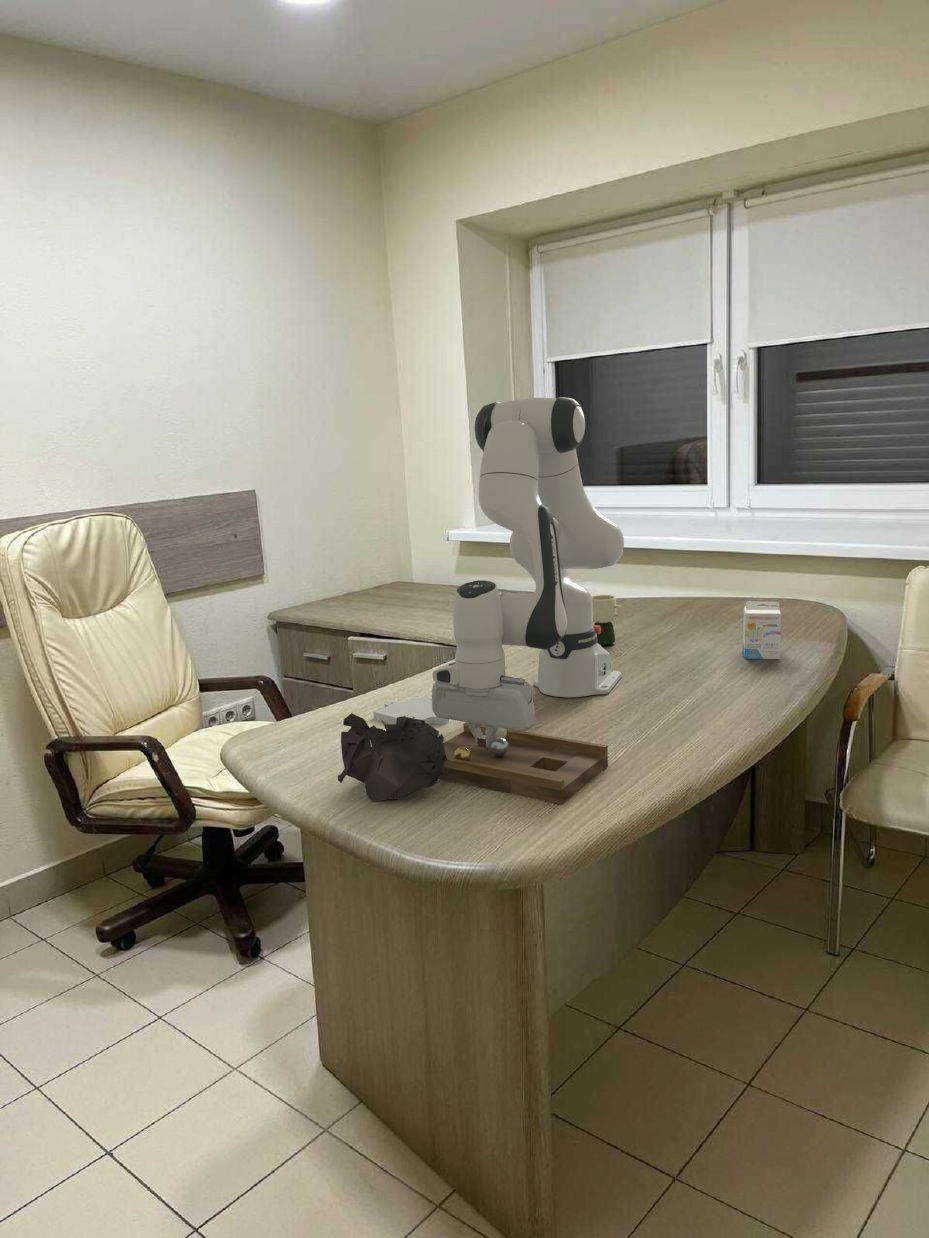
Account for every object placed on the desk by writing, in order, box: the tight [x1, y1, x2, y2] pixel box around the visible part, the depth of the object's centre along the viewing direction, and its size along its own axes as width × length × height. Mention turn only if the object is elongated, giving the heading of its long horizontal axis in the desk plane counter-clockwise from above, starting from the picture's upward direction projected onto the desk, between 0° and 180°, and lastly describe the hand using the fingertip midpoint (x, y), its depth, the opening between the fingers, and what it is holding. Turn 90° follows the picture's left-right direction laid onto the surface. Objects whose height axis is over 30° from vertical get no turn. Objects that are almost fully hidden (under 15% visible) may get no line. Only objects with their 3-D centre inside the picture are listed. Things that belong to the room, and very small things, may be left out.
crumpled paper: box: [337, 712, 451, 802], centre depth 154 cm, size 14×15×20 cm
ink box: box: [741, 600, 782, 660], centre depth 226 cm, size 9×8×13 cm
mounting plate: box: [372, 695, 450, 726], centre depth 196 cm, size 18×13×2 cm
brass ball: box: [454, 747, 471, 761], centre depth 161 cm, size 3×3×3 cm
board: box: [439, 722, 609, 806], centre depth 163 cm, size 18×30×4 cm, turn 57°
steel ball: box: [490, 737, 509, 756], centre depth 163 cm, size 3×3×3 cm
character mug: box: [591, 594, 622, 646], centre depth 245 cm, size 11×7×13 cm, turn 53°
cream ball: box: [485, 728, 507, 739], centre depth 170 cm, size 4×4×4 cm
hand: (484, 746), depth 165 cm, fingers closed
